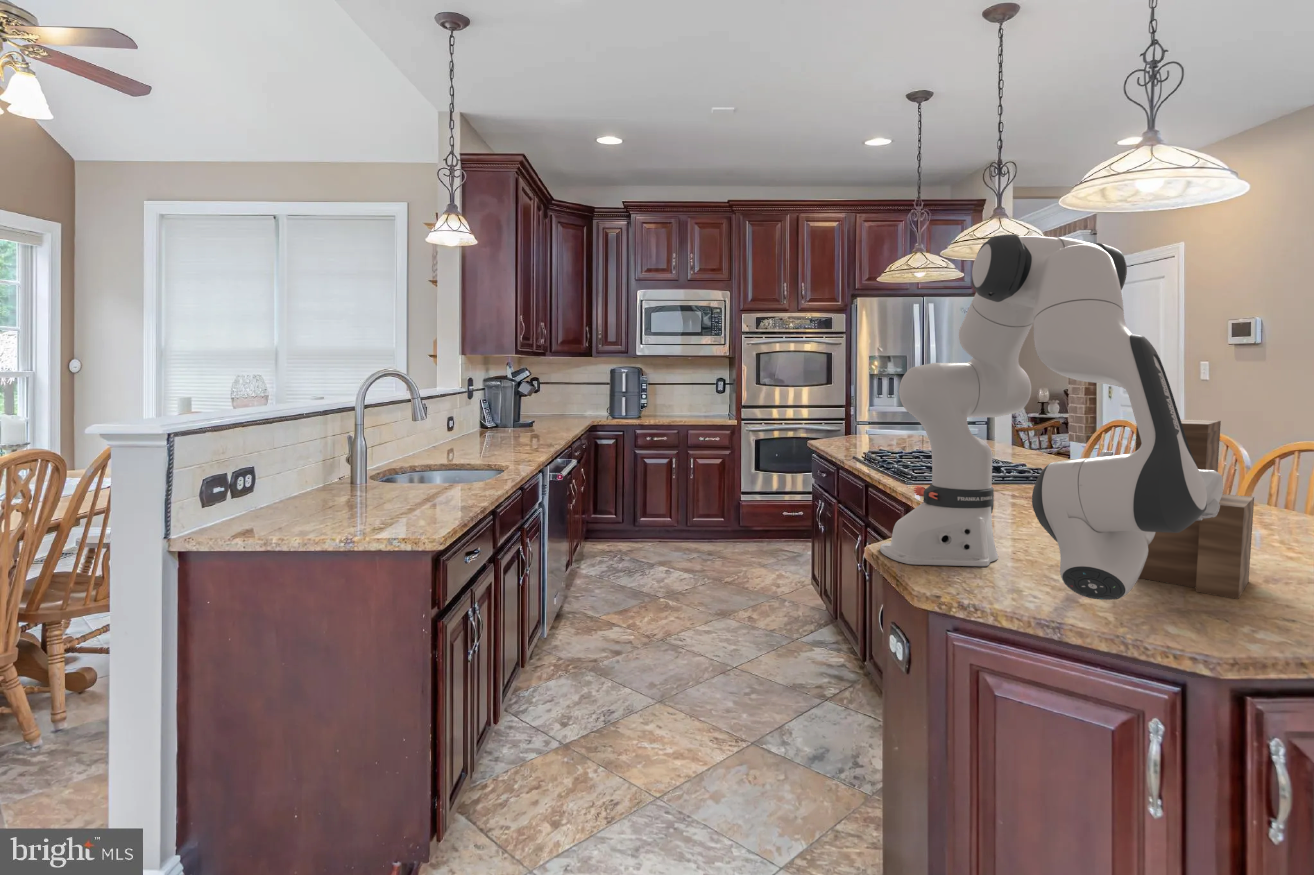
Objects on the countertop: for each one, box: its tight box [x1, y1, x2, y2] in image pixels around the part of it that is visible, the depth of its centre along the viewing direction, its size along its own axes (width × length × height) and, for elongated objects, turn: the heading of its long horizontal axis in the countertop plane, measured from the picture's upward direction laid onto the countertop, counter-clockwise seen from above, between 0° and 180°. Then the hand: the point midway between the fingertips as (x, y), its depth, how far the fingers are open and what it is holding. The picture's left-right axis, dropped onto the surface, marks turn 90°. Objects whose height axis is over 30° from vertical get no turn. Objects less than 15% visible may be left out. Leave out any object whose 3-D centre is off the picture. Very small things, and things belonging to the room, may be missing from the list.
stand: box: [1134, 418, 1255, 600], centre depth 122 cm, size 17×16×28 cm
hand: (1143, 456), depth 105 cm, fingers open, 8 cm apart
